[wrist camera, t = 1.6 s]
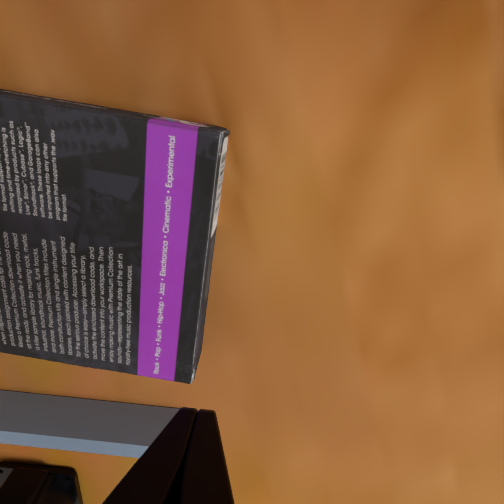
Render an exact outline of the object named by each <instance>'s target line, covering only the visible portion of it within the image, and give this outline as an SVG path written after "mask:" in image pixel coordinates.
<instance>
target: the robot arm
mask: <svg viewBox="0 0 504 504" xmlns="http://www.w3.org/2000/svg"><path fill="white" fill-rule="evenodd" d="M0 504H83V501H82V496H81V491H80V486H79V481H78V476H77V473H76V472H75V471H74V470H71V469H62V468H53V467H43V466H34V465H25V464H15V463H6V462H0ZM102 504H234V499H233V494H232V489H231V484H230V480H229V475H228V470H227V465H226V460H225V455H224V451H223V446H222V441H221V436H220V431H219V426H218V421H217V417H216V413H215V411H214V410H206V409H200V410H199V411H198V410H197V409H195V408H187V407H182V408H181V409H179V411H178V412H177V413H176V414H175V415H174V417H173V418H172V419H171V420H170V421H169V423H168V424H167V425H166V426H165V428H164V429H163V430H162V431H161V432H160V434H159V435H158V436H157V437H156V439H155V440H154V441H153V442H152V443H151V445H150V446H149V447H148V448H147V449H146V451H145V452H144V453H143V454H142V456H141V457H140V458H139V459H138V460H137V462H136V463H135V464H134V465H133V467H132V468H131V469H130V470H129V471H128V473H127V474H126V475H125V476H124V478H123V479H122V480H121V481H120V482H119V484H118V485H117V486H116V487H115V489H114V490H113V491H112V492H111V493H110V495H109V496H108V497H107V498H106V499H105V501H104V502H103V503H102Z"/></svg>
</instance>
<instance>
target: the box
mask: <svg viewBox="0 0 504 504" xmlns="http://www.w3.org/2000/svg"><path fill="white" fill-rule="evenodd" d="M229 133H230V130H227V129H225V128H223V127H218V126H214V125H207V124H201V123H195V122H190V121H184V120H178V119H172V118H166V117H161V116H155V115H150V114H143V113H137V112H131V111H126V110H120V109H114V108H108V107H103V106H97V105H91V104H85V103H79V102H73V101H67V100H61V99H55V98H49V97H44V96H37V95H31V94H26V93H20V92H14V91H9V90H3V89H0V352H3V353H8V354H14V355H20V356H26V357H32V358H38V359H44V360H49V361H55V362H61V363H65V364H72V365H78V366H83V367H91V368H95V369H105V370H111V371H117V372H123V373H129V374H134V375H140V376H146V377H152V378H158V379H164V380H169V381H176V382H182V383H187V384H191V383H192V382H193V380H194V378H195V373H196V369H197V365H198V362H199V358H200V354H201V350H202V342H203V333H204V324H205V316H206V307H207V300H208V292H209V283H210V276H211V269H212V260H213V251H214V244H215V235H216V227H217V219H218V211H219V204H220V196H221V188H222V181H223V174H224V166H225V158H226V151H227V143H228V135H229Z"/></svg>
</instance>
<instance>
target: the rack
mask: <svg viewBox="0 0 504 504" xmlns="http://www.w3.org/2000/svg"><path fill="white" fill-rule="evenodd" d="M178 411H179V409H178V408H169V407H159V406H149V405H140V404H130V403H121V402H111V401H101V400H92V399H82V398H72V397H63V396H53V395H44V394H34V393H24V392H15V391H5V390H0V443H3V444H13V445H22V446H31V447H41V448H50V449H60V450H69V451H78V452H88V453H97V454H106V455H116V456H125V457H135V458H140V457H141V456H142V454H143V453H144V452H145V451H146V449H147V448H148V447H149V446H150V445H151V443H152V442H153V441H154V440H155V439H156V437H157V436H158V435H159V434H160V432H161V431H162V430H163V429H164V428H165V426H166V425H167V424H168V423H169V421H170V420H171V419H172V418H173V417H174V415H175V414H176V413H177V412H178Z"/></svg>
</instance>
